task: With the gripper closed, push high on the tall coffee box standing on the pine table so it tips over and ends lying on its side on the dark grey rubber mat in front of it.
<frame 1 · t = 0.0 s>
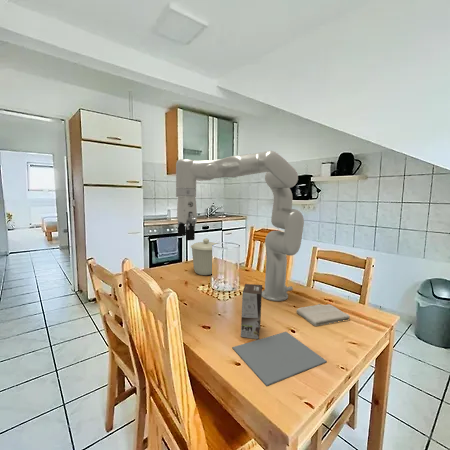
hand: (185, 237, 101), 31 cm above the table, tool pointing down, fingers open, 9 cm apart
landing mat: (277, 355, 80), on the table
coffee box: (250, 332, 93), on the table
washcloth: (323, 318, 106), on the table
canister: (205, 273, 158), on the table
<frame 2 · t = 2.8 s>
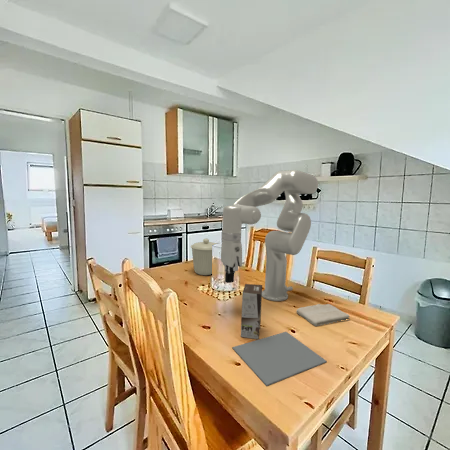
hand: (229, 281, 105), 13 cm above the table, tool pointing down, fingers closed
nothing on the table moved.
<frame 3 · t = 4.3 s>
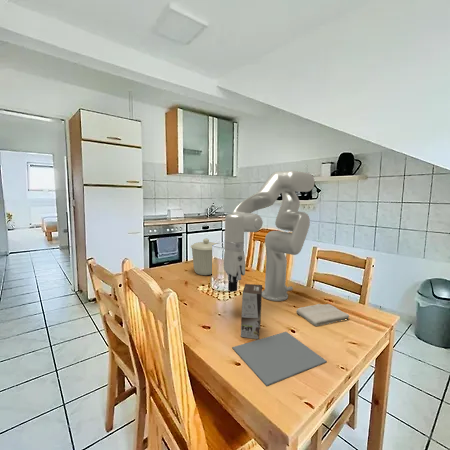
hand: (232, 290, 104), 10 cm above the table, tool pointing down, fingers closed
nothing on the table moved.
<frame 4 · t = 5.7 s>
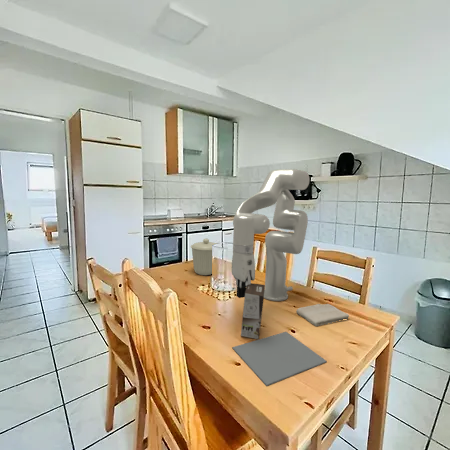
hand: (241, 296, 98), 10 cm above the table, tool pointing down, fingers closed
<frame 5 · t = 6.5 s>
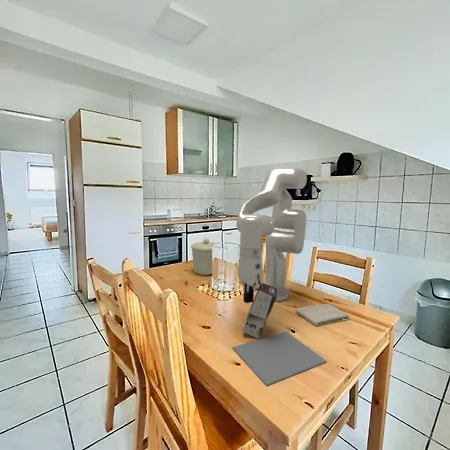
hand: (248, 301, 94), 10 cm above the table, tool pointing down, fingers closed
coffee box: (251, 329, 93), point 1 cm above the table, touching gripper
everything else where it was.
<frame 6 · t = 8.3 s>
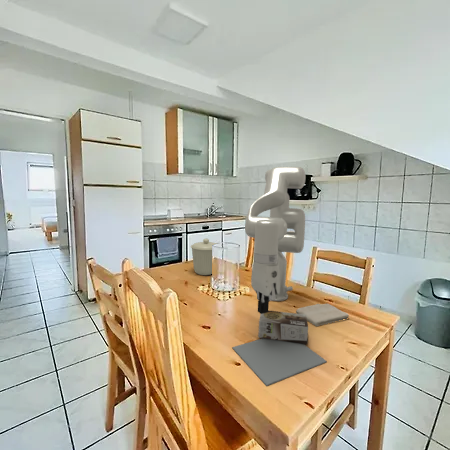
hand: (262, 312, 86), 10 cm above the table, tool pointing down, fingers closed
coffee box: (259, 322, 92), point 4 cm above the table, touching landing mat
everything else where it was.
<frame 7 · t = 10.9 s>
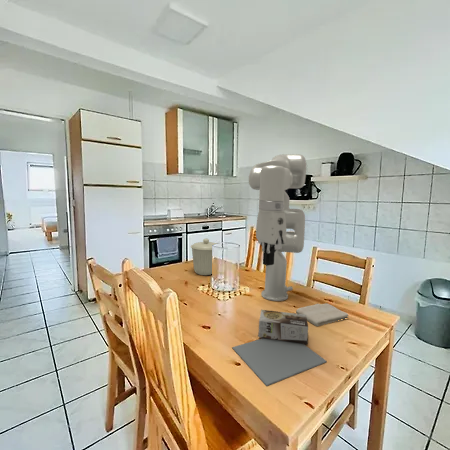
hand: (268, 264, 83), 27 cm above the table, tool pointing down, fingers closed
nothing on the table moved.
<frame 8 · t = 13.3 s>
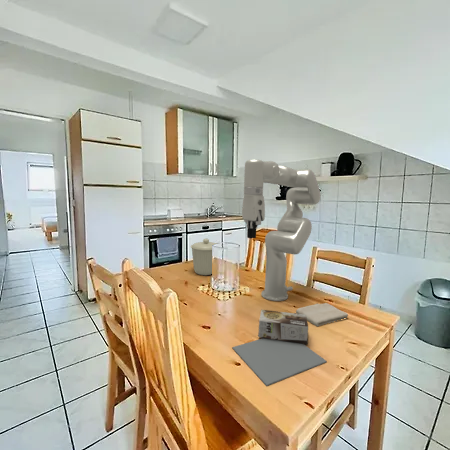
hand: (251, 237, 105), 31 cm above the table, tool pointing down, fingers closed
nothing on the table moved.
at the end: coffee box tilted 90°; coffee box touching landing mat; coffee box inside the target area (8.7 cm from its centre), point 3.6 cm above the table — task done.
